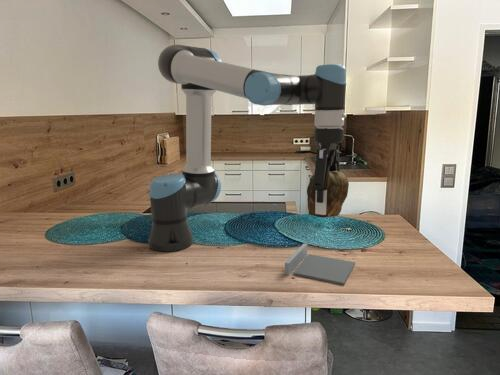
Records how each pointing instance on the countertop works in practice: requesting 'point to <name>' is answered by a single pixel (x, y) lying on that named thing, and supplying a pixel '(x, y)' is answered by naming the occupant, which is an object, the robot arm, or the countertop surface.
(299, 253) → the acrylic wall
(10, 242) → the countertop surface
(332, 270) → the pad
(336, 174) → the brown rounded lump
